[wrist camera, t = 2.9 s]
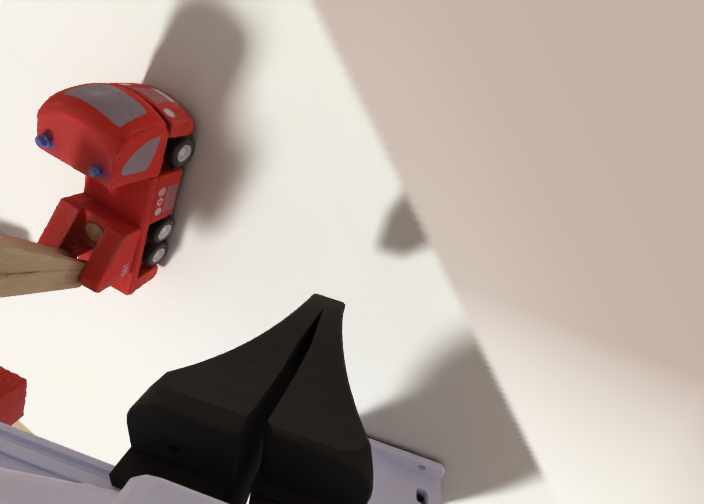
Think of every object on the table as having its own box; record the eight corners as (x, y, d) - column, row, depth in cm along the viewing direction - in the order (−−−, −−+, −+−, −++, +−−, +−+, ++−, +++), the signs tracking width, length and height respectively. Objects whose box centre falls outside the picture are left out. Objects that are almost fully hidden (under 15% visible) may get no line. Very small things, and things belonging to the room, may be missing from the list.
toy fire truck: (207, 111, 14) (-123, 148, 6) (151, 315, 21) (-40, 471, 12) (138, 69, 14) (-311, 42, 5) (103, 288, 21) (-123, 428, 12)
